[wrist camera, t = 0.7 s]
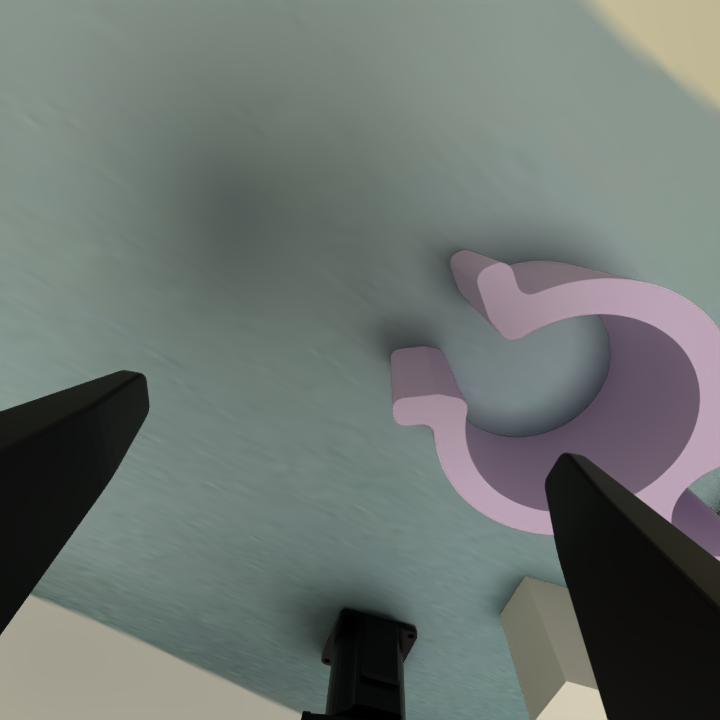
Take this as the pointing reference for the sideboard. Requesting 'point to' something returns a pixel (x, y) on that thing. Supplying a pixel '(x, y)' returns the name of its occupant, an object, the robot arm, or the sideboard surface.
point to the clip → (605, 413)
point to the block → (550, 654)
